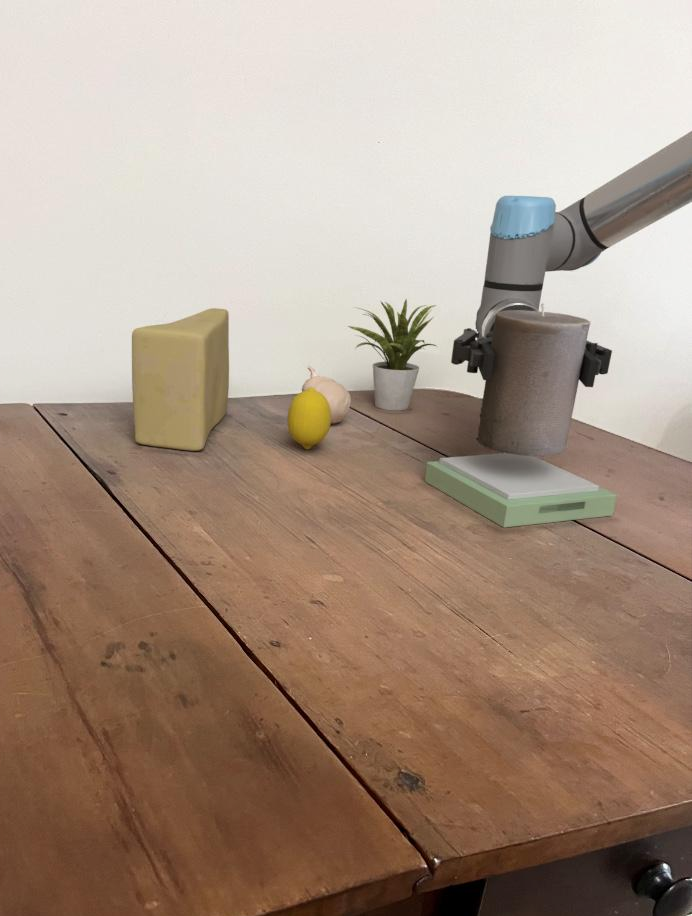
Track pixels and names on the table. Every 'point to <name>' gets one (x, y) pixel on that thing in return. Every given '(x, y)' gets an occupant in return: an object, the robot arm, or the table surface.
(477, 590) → the table surface
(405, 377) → the house plant
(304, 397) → the lemon
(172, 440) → the cheese
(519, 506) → the scale
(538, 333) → the pillar candle
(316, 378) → the garlic bulb
